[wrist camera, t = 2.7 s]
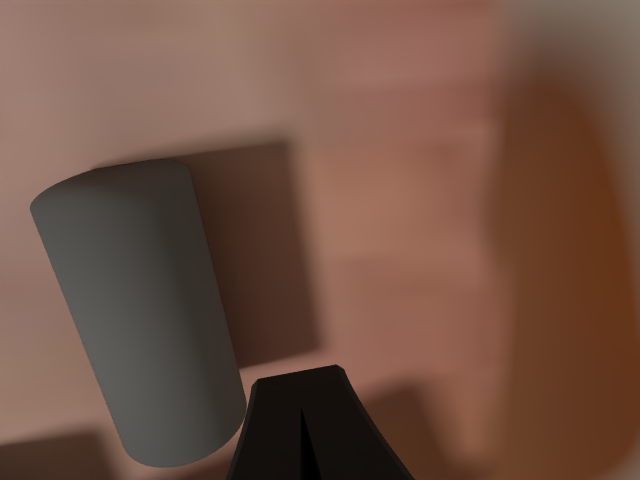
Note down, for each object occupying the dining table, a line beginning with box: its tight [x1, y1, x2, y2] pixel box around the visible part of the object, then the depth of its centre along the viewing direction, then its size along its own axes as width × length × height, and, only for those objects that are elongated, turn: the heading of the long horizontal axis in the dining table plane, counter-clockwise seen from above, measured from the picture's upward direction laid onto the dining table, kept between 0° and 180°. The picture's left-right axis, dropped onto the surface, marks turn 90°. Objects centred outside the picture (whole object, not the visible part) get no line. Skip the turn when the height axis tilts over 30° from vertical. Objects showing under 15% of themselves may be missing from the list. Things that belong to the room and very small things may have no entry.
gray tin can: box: [30, 160, 247, 468], centre depth 12 cm, size 6×3×3 cm
